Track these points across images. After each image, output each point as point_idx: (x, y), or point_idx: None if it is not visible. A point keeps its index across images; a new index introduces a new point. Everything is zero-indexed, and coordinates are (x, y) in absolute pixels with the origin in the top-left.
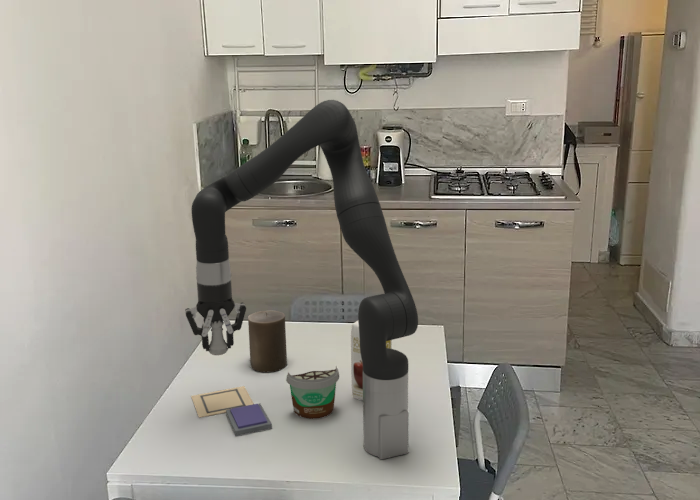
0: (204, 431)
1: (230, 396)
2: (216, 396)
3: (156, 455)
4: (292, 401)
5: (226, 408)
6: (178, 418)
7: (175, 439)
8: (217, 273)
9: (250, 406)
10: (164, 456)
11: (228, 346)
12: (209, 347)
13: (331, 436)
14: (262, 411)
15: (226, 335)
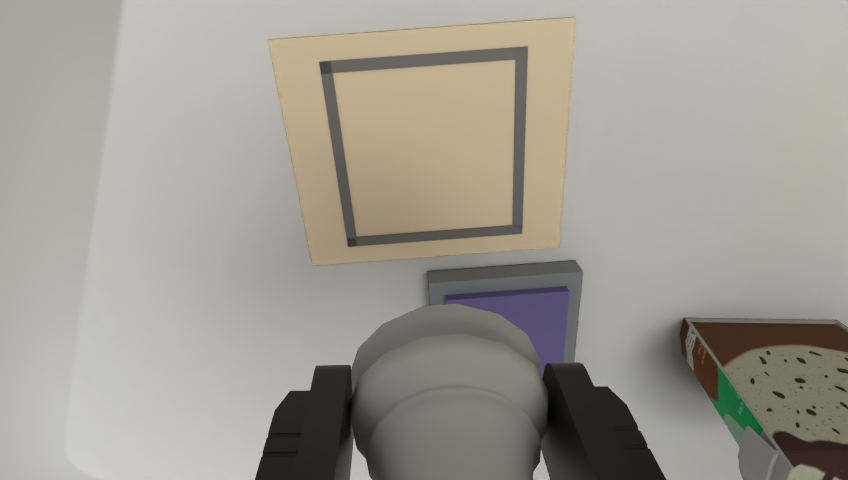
0: (332, 355)
1: (475, 122)
2: (405, 97)
3: (177, 436)
4: (703, 350)
5: (435, 235)
6: (223, 241)
7: (228, 374)
8: None
9: (533, 305)
10: (204, 445)
11: (546, 447)
12: (356, 442)
13: (708, 469)
14: (567, 334)
15: (586, 465)
